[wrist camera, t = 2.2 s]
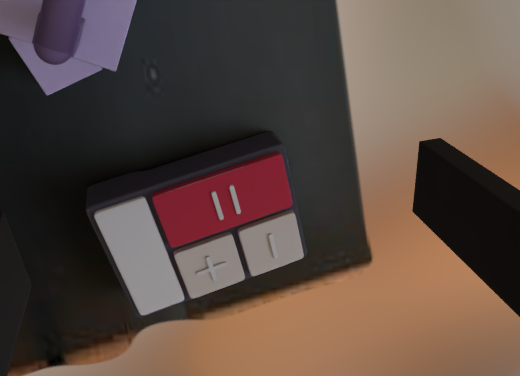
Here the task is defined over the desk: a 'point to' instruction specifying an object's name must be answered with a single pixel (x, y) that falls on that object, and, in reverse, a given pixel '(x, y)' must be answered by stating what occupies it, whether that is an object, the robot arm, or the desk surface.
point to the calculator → (198, 222)
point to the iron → (66, 37)
